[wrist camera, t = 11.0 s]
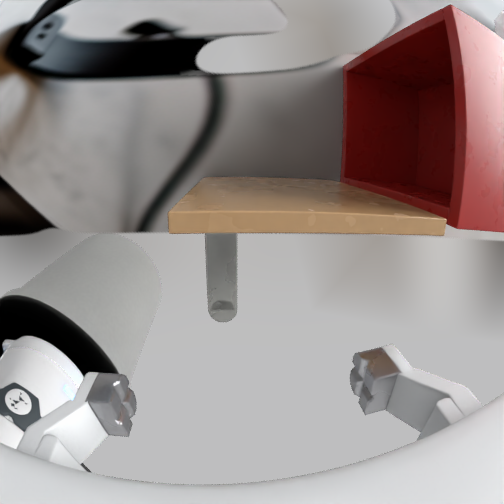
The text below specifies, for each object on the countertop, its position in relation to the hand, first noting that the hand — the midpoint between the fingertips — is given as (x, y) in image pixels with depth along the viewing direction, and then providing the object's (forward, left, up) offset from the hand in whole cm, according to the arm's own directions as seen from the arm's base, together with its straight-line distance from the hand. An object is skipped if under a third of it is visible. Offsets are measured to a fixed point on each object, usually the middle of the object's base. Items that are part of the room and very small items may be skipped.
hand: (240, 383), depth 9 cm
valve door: (+4, -2, -18) cm, 18 cm away
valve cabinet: (+17, -7, -18) cm, 25 cm away
